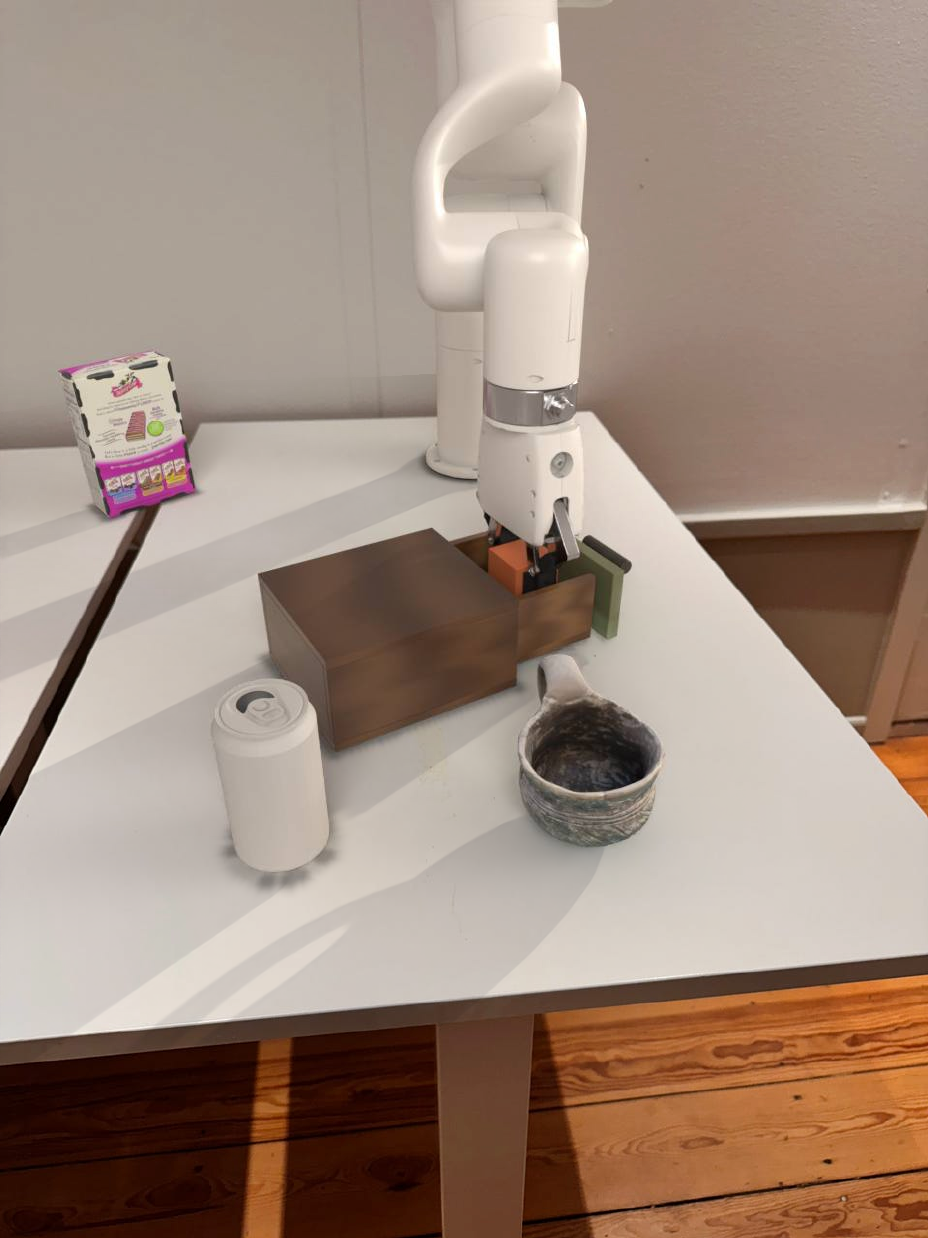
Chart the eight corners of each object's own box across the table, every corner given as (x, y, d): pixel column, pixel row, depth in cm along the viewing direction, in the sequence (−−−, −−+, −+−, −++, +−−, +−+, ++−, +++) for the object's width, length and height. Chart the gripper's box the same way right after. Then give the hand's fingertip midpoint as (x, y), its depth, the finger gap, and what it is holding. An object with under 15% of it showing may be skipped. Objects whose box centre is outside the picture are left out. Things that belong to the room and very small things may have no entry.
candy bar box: (178, 480, 110) (153, 347, 101) (197, 492, 107) (173, 357, 98) (90, 505, 104) (55, 367, 95) (107, 520, 101) (72, 378, 92)
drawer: (567, 561, 91) (571, 501, 87) (653, 623, 81) (662, 558, 77) (396, 613, 82) (393, 550, 79) (469, 689, 73) (469, 620, 69)
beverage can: (294, 795, 64) (275, 660, 57) (349, 843, 60) (335, 705, 53) (217, 842, 60) (186, 704, 53) (270, 897, 56) (245, 754, 50)
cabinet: (433, 606, 85) (432, 527, 80) (516, 686, 75) (519, 599, 70) (269, 657, 78) (257, 573, 73) (335, 752, 68) (325, 661, 63)
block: (528, 578, 83) (530, 536, 80) (556, 600, 79) (559, 556, 77) (487, 591, 81) (488, 548, 78) (514, 614, 78) (516, 569, 75)
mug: (558, 892, 56) (568, 776, 51) (471, 771, 66) (471, 662, 60) (680, 842, 60) (702, 728, 54) (581, 734, 69) (590, 628, 64)
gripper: (634, 423, 66) (612, 627, 75) (511, 364, 78) (506, 546, 88) (552, 442, 62) (540, 652, 72) (437, 377, 75) (440, 565, 85)
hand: (521, 592), depth 80 cm, fingers closed on block, 4 cm apart
